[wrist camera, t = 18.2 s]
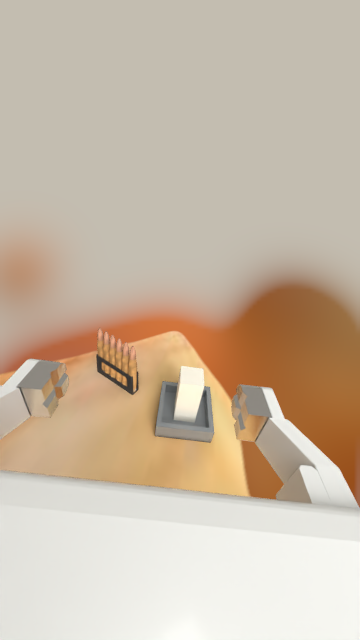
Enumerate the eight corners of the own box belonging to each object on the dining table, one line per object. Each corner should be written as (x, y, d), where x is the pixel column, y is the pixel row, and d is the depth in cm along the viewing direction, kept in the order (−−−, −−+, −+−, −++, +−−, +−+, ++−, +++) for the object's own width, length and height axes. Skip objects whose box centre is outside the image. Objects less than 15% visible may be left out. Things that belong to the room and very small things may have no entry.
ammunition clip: (138, 389, 47) (140, 346, 40) (132, 395, 45) (133, 351, 39) (103, 366, 51) (100, 324, 45) (97, 371, 49) (92, 327, 43)
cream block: (173, 420, 41) (180, 383, 35) (174, 401, 44) (181, 365, 39) (194, 422, 41) (204, 386, 36) (194, 404, 44) (203, 368, 39)
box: (154, 436, 39) (156, 426, 37) (161, 390, 47) (162, 381, 45) (210, 442, 39) (214, 432, 37) (207, 396, 47) (209, 386, 46)
